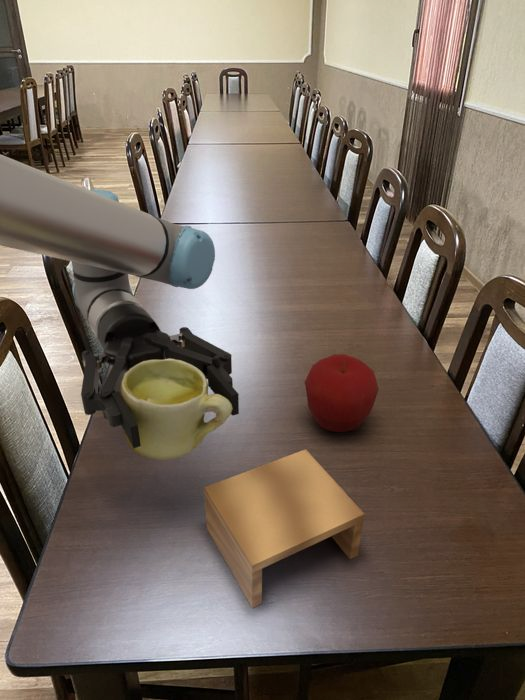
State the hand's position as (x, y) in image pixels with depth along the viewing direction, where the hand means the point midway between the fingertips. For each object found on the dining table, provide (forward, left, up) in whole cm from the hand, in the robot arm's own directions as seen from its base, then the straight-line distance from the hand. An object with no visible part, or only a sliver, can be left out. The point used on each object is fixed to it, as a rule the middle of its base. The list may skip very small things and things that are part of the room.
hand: (187, 420), depth 55 cm
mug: (0, +4, -6) cm, 7 cm away
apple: (+28, +10, -18) cm, 34 cm away
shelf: (+9, -5, -18) cm, 21 cm away
